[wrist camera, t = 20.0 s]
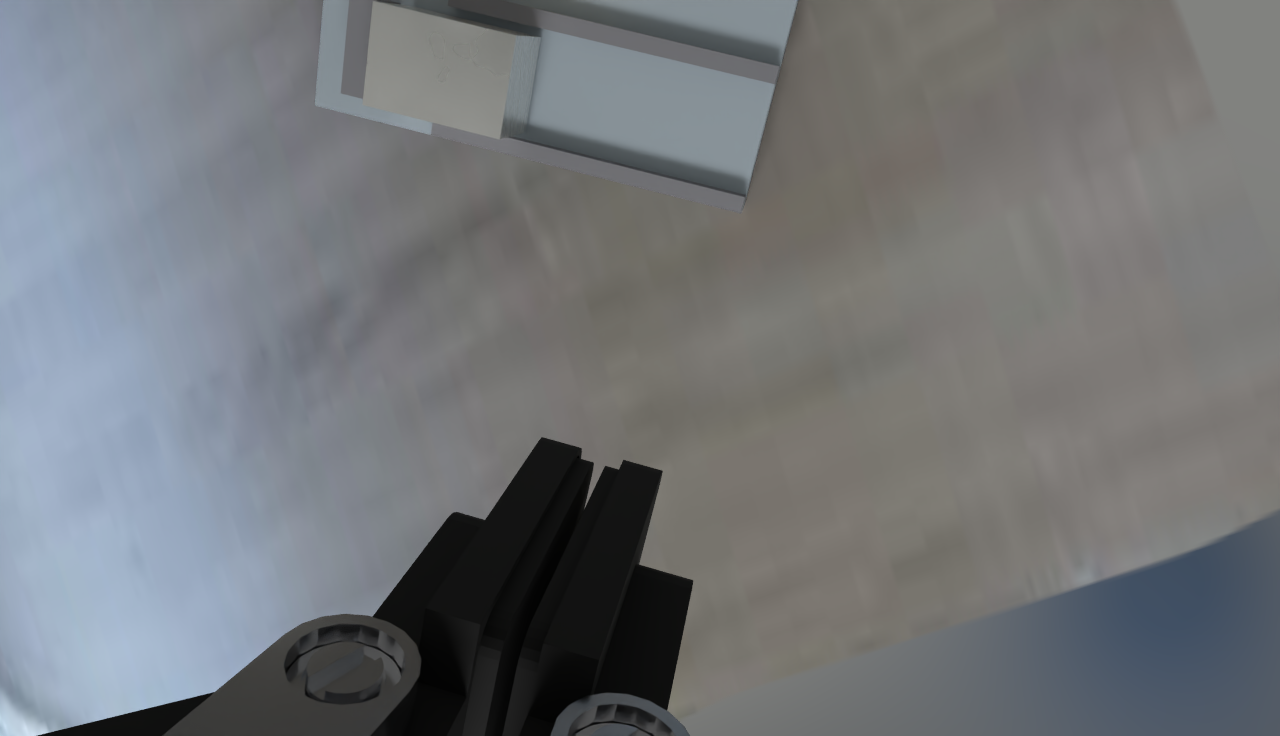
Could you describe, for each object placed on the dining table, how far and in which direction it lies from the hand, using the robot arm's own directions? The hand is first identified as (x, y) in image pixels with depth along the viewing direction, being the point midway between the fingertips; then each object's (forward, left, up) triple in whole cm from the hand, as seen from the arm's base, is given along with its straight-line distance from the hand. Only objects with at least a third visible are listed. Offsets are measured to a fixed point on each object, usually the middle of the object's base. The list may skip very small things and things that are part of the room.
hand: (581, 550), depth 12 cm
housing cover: (-11, +4, -23) cm, 25 cm away
